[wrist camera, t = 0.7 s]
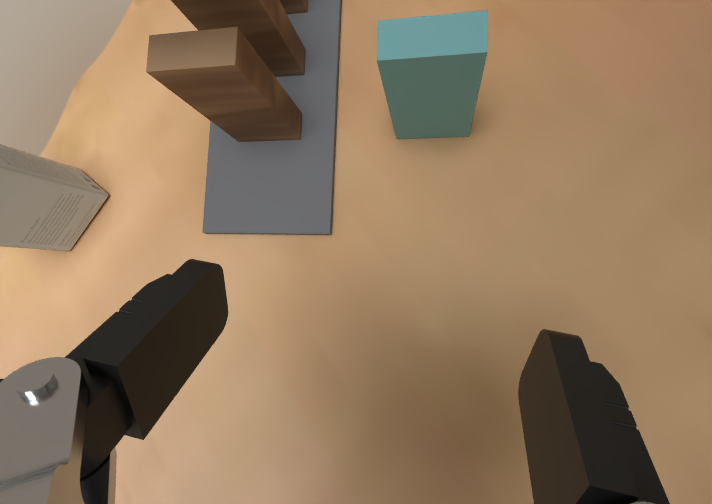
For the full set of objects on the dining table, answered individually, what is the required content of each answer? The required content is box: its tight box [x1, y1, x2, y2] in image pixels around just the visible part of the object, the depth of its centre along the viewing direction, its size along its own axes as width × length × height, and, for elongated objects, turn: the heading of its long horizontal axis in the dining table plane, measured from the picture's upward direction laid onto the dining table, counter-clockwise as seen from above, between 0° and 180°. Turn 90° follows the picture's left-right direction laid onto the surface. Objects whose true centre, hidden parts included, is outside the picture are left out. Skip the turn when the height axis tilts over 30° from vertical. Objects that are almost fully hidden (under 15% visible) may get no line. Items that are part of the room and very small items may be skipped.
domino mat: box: [203, 0, 342, 235], centre depth 31 cm, size 26×10×1 cm, turn 178°
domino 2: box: [146, 27, 302, 142], centre depth 25 cm, size 2×5×10 cm, turn 88°
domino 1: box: [171, 0, 306, 77], centre depth 26 cm, size 2×5×10 cm, turn 88°
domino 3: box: [377, 10, 488, 139], centre depth 23 cm, size 2×5×10 cm, turn 88°
